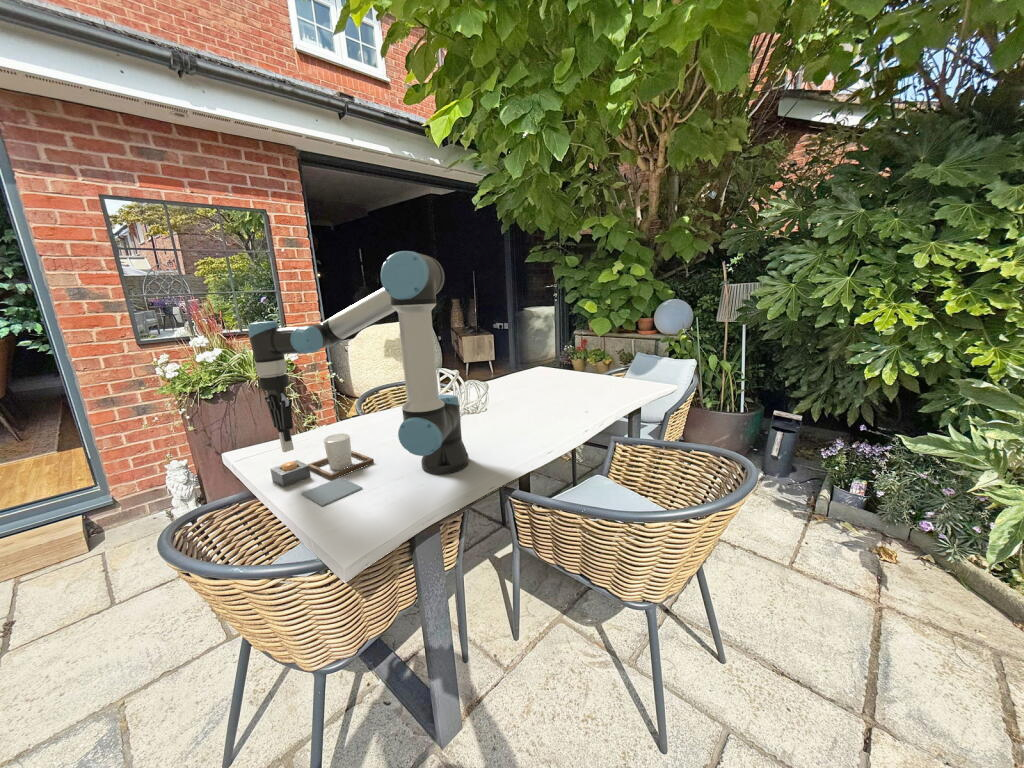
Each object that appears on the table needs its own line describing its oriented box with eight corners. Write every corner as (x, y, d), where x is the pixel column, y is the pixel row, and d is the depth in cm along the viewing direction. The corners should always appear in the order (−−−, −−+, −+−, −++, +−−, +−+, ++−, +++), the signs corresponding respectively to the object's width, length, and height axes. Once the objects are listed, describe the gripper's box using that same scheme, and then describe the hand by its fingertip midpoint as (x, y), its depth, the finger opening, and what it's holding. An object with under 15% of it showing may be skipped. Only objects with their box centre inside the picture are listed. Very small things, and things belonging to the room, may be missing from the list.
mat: (362, 488, 115) (362, 487, 115) (322, 506, 106) (321, 505, 106) (341, 478, 122) (340, 477, 122) (301, 494, 113) (301, 493, 113)
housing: (310, 477, 124) (308, 465, 123) (283, 487, 118) (281, 475, 117) (299, 471, 129) (297, 459, 128) (272, 480, 123) (270, 468, 122)
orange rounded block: (300, 475, 123) (298, 463, 122) (287, 480, 120) (285, 468, 119) (294, 472, 126) (292, 460, 125) (281, 477, 123) (279, 464, 122)
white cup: (337, 473, 126) (333, 443, 124) (323, 468, 130) (318, 439, 128) (358, 463, 133) (354, 435, 130) (344, 459, 137) (340, 432, 135)
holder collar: (373, 463, 133) (373, 458, 132) (330, 480, 121) (330, 475, 121) (349, 453, 142) (349, 449, 141) (307, 468, 130) (306, 464, 130)
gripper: (296, 374, 115) (310, 450, 120) (277, 371, 123) (291, 442, 128) (268, 379, 109) (284, 459, 114) (250, 375, 117) (266, 450, 122)
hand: (288, 450), depth 121 cm, fingers closed
